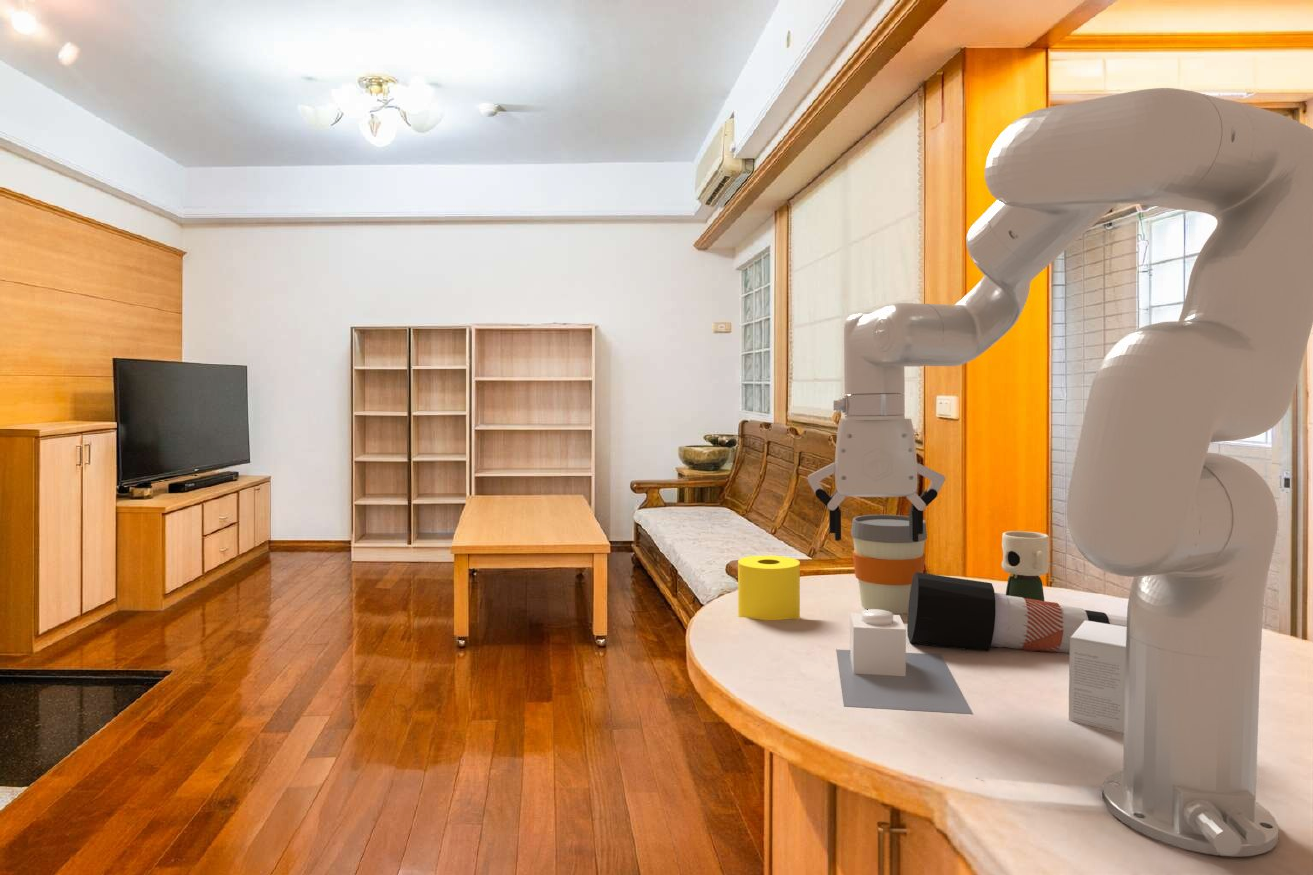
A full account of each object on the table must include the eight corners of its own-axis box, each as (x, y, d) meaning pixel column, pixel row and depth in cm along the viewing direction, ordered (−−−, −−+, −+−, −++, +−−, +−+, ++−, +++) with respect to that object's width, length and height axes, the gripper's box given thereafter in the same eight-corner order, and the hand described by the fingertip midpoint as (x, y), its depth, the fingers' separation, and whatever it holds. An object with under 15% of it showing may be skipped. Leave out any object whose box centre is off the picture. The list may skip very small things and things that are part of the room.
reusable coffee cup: (844, 596, 142) (844, 514, 141) (914, 596, 141) (915, 514, 140) (859, 616, 129) (859, 526, 128) (936, 616, 129) (937, 526, 128)
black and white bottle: (1174, 701, 104) (1200, 646, 99) (908, 658, 112) (919, 605, 106) (1152, 645, 113) (1175, 592, 107) (906, 608, 120) (916, 557, 115)
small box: (1082, 707, 92) (1083, 618, 91) (1137, 719, 88) (1139, 627, 87) (1066, 730, 85) (1068, 635, 85) (1125, 745, 82) (1127, 646, 81)
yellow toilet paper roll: (785, 631, 122) (785, 571, 121) (728, 621, 127) (727, 564, 127) (808, 615, 130) (808, 559, 130) (753, 607, 136) (753, 553, 135)
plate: (972, 724, 87) (973, 713, 87) (843, 716, 90) (843, 705, 90) (941, 662, 107) (941, 654, 107) (836, 657, 109) (836, 649, 109)
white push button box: (905, 676, 99) (905, 621, 98) (853, 673, 100) (853, 619, 100) (899, 658, 105) (899, 607, 105) (850, 656, 106) (850, 605, 106)
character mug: (988, 603, 136) (989, 529, 136) (1029, 602, 137) (1030, 528, 136) (1019, 621, 126) (1020, 540, 125) (1063, 620, 126) (1064, 540, 125)
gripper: (806, 410, 99) (808, 543, 100) (949, 407, 96) (950, 545, 97) (806, 409, 107) (807, 534, 108) (939, 407, 104) (939, 535, 105)
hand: (875, 539), depth 102 cm, fingers open, 9 cm apart
